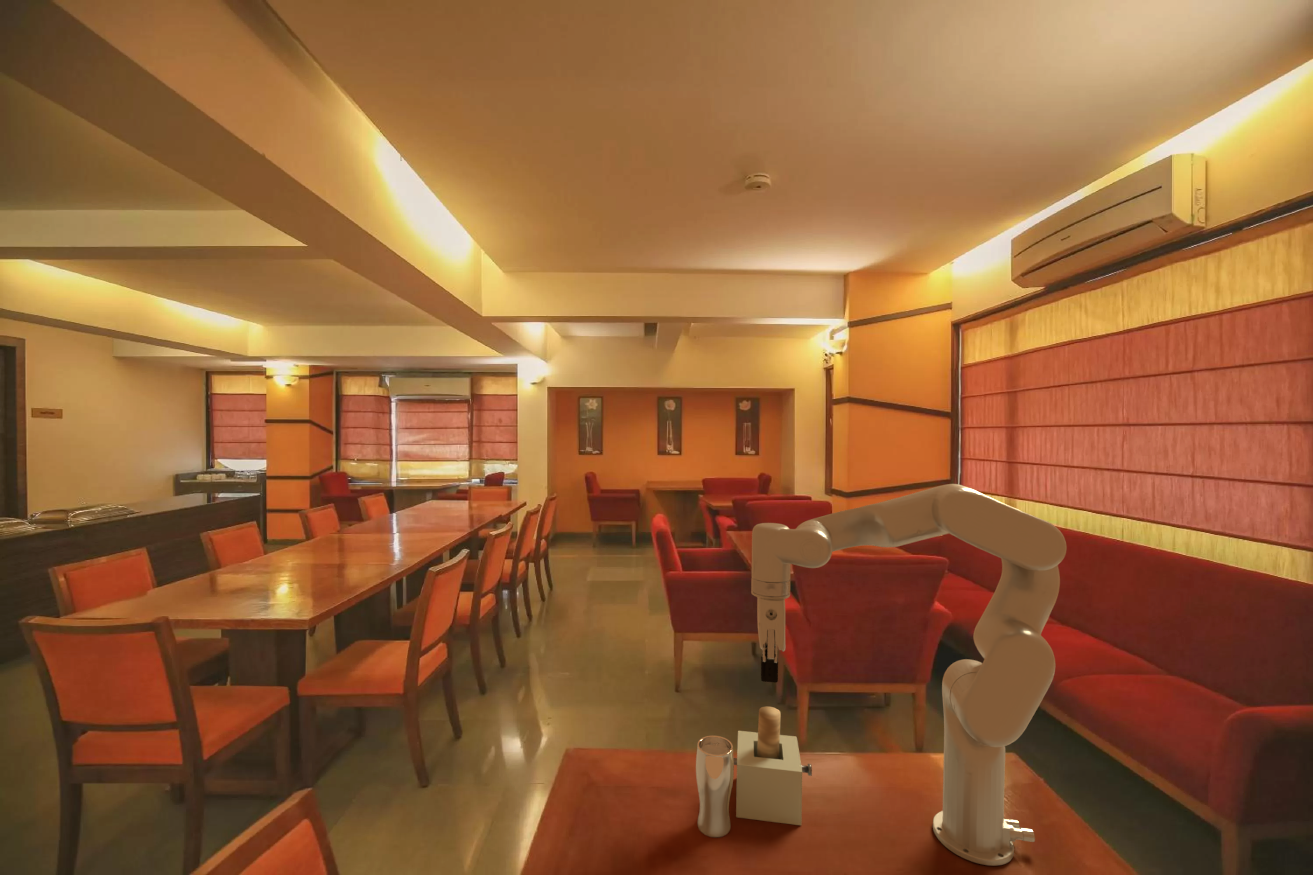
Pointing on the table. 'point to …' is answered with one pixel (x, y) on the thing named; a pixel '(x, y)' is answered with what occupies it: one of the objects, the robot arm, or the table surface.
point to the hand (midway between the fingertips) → (769, 678)
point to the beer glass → (714, 784)
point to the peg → (768, 733)
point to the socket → (769, 781)
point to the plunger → (807, 769)
